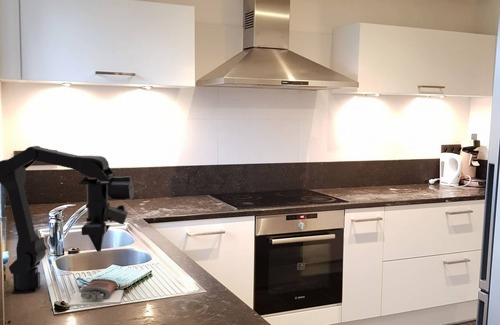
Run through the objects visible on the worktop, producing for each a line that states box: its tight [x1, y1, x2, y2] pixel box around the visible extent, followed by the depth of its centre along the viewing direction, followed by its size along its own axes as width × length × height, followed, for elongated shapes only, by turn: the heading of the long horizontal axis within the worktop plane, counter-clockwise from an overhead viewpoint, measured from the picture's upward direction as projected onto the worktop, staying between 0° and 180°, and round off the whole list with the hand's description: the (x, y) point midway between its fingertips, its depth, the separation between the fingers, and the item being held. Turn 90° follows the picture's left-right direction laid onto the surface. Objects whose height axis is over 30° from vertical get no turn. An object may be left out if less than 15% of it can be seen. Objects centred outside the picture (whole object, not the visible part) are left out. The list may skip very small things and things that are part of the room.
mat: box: [67, 289, 125, 307], centre depth 139 cm, size 14×9×1 cm, turn 99°
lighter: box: [80, 278, 118, 300], centre depth 139 cm, size 8×3×10 cm
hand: (98, 251), depth 144 cm, fingers closed
